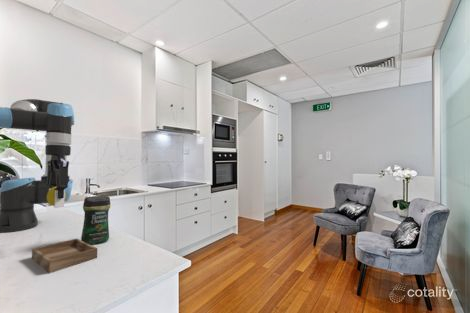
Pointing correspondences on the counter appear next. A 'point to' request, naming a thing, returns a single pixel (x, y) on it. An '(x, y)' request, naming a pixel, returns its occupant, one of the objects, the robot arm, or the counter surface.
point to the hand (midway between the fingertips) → (55, 206)
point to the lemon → (52, 196)
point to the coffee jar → (96, 220)
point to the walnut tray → (63, 254)
